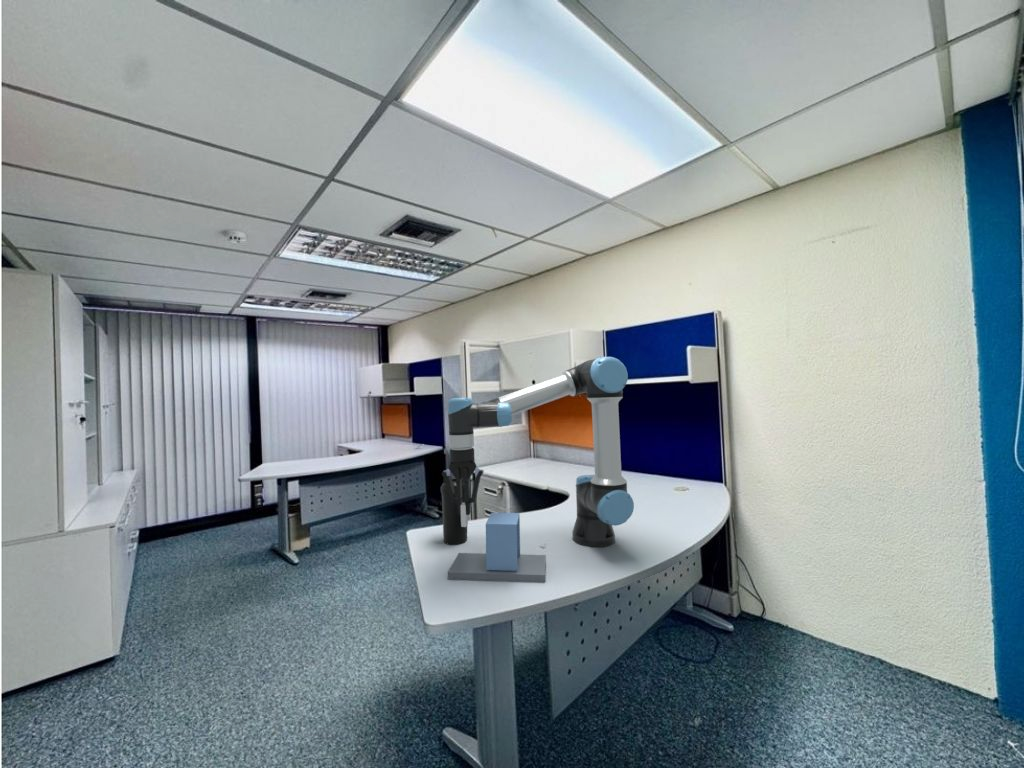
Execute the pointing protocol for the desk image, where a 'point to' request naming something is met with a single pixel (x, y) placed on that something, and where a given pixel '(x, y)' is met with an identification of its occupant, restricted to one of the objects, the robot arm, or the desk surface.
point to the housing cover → (502, 541)
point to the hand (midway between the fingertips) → (464, 525)
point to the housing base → (475, 569)
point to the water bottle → (452, 517)
